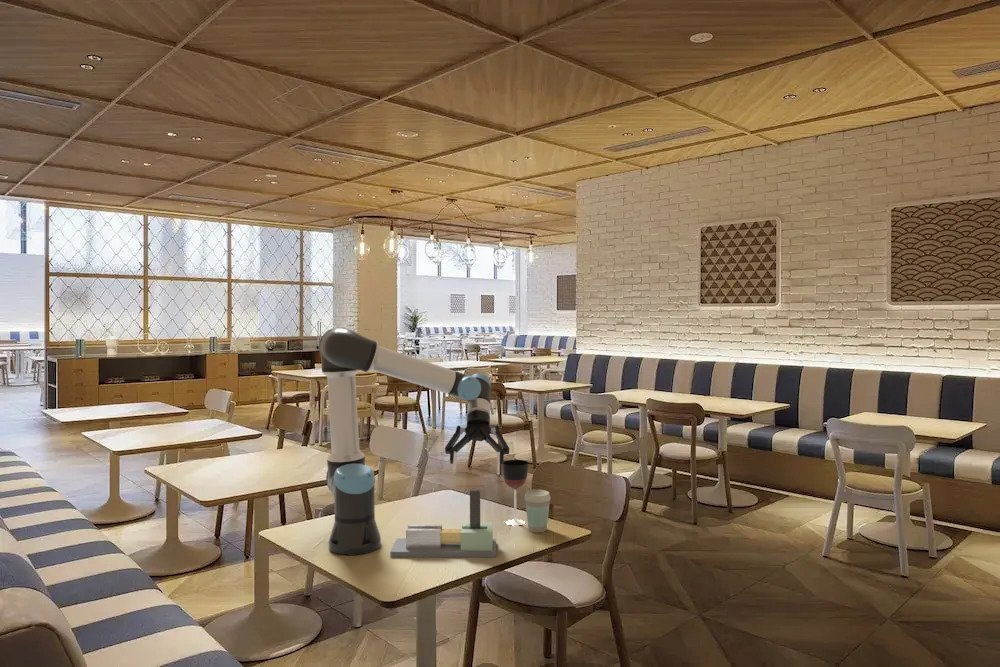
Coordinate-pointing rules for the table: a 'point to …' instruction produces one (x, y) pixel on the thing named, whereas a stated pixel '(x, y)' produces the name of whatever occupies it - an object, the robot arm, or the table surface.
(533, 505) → the coffee cup
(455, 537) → the sliding bolt with handle
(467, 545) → the socket block
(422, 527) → the steel sleeve
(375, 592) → the table surface
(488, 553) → the base board
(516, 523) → the wineglass
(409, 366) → the robot arm
